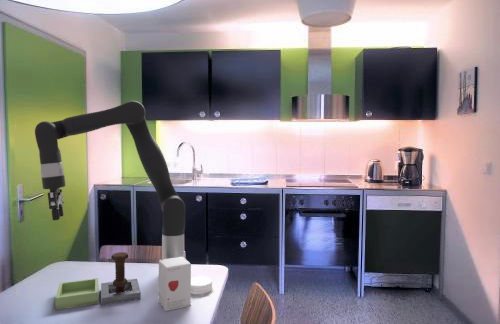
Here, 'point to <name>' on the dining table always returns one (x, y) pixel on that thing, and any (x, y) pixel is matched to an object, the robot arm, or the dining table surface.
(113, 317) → the dining table surface
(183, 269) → the supplement box
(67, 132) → the robot arm
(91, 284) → the tray
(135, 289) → the square frame
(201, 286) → the white round disc
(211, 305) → the dining table surface
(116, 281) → the bolt
